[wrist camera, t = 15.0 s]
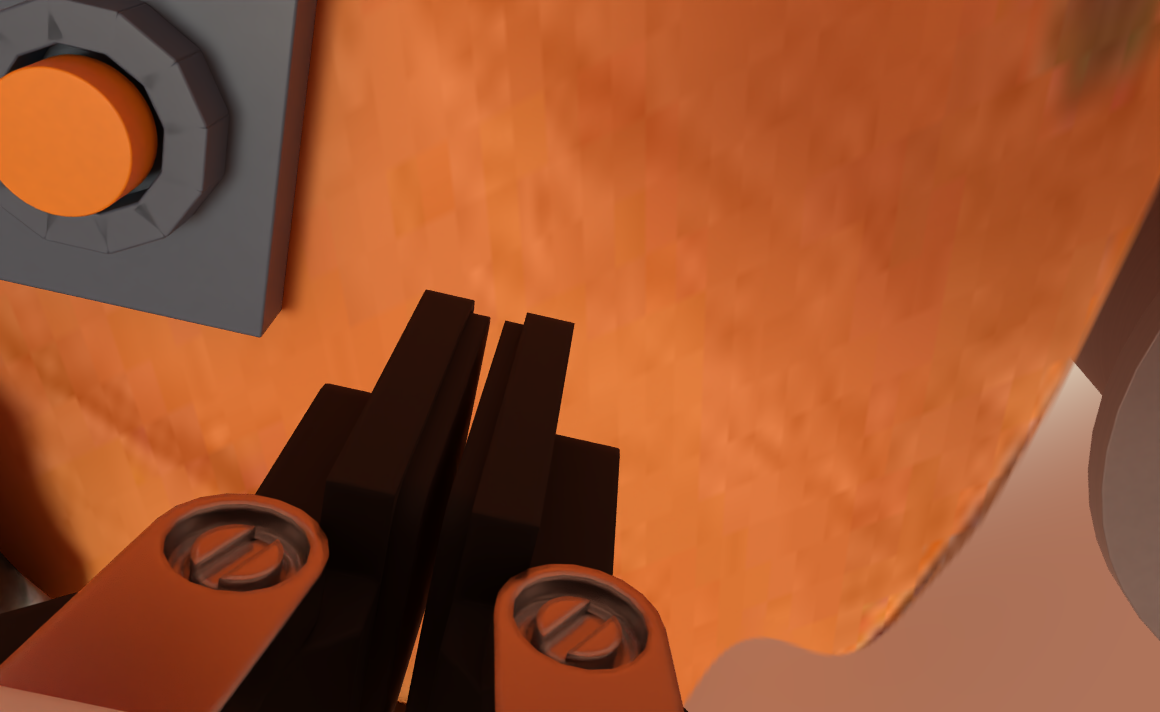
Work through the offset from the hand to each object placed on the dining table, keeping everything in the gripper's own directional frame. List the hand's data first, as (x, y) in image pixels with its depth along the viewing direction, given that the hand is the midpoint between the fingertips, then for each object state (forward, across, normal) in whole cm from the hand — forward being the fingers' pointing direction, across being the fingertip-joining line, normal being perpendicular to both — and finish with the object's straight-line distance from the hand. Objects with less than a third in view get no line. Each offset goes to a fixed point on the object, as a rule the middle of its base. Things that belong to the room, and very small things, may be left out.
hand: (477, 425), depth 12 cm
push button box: (+22, +13, +4) cm, 26 cm away
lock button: (+18, +13, +4) cm, 23 cm away
